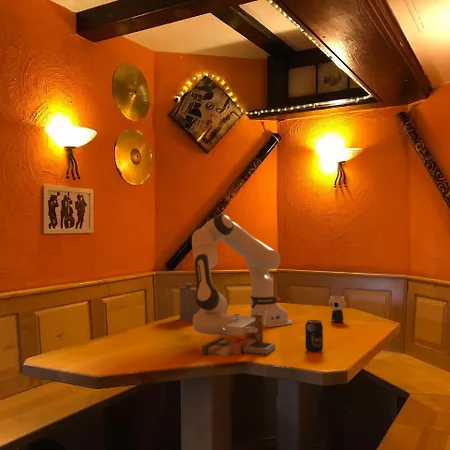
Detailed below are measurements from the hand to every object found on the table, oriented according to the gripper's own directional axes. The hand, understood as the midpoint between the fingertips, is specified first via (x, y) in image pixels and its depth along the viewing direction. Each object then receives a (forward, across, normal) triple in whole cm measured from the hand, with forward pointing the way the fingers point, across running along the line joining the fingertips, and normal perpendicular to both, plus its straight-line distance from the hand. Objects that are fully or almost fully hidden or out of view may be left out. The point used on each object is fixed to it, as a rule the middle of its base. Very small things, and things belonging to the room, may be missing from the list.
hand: (261, 327), depth 204 cm
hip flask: (-55, +45, +10) cm, 72 cm away
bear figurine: (+18, +70, +10) cm, 72 cm away
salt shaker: (-11, +23, +10) cm, 27 cm away
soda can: (+20, +8, +10) cm, 24 cm away
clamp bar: (-19, -4, +10) cm, 22 cm away
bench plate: (-15, -4, +10) cm, 18 cm away
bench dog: (-8, -4, +10) cm, 13 cm away
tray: (-1, 0, +10) cm, 10 cm away
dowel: (-1, 0, +9) cm, 9 cm away
